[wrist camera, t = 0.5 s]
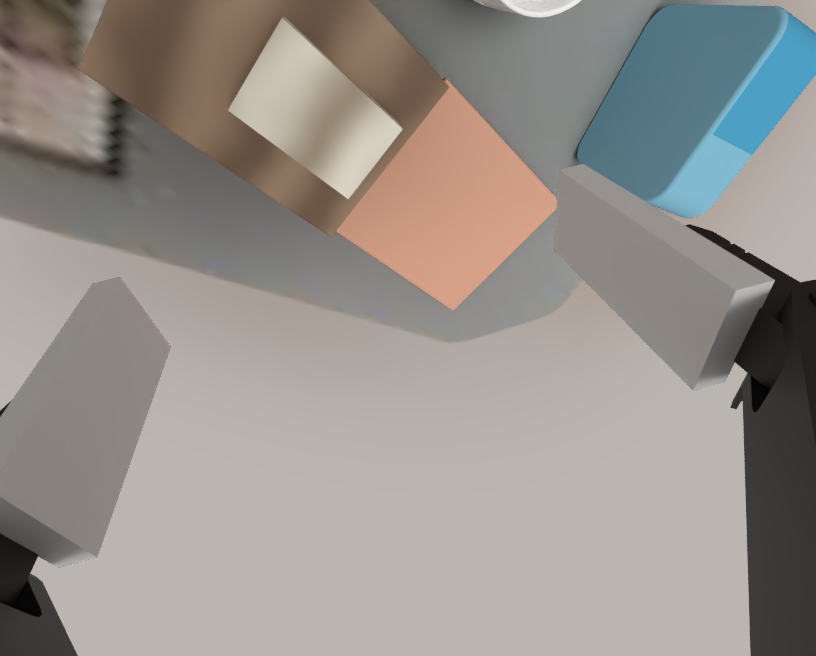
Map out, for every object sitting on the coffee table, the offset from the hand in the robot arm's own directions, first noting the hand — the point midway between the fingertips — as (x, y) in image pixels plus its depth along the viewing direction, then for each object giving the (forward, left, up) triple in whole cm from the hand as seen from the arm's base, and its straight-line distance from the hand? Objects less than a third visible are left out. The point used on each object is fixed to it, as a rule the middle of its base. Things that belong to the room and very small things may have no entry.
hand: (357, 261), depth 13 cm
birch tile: (-1, 0, -21) cm, 21 cm away
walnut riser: (-4, 0, -25) cm, 25 cm away
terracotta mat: (+14, 0, -25) cm, 28 cm away
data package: (+19, +17, -25) cm, 36 cm away
